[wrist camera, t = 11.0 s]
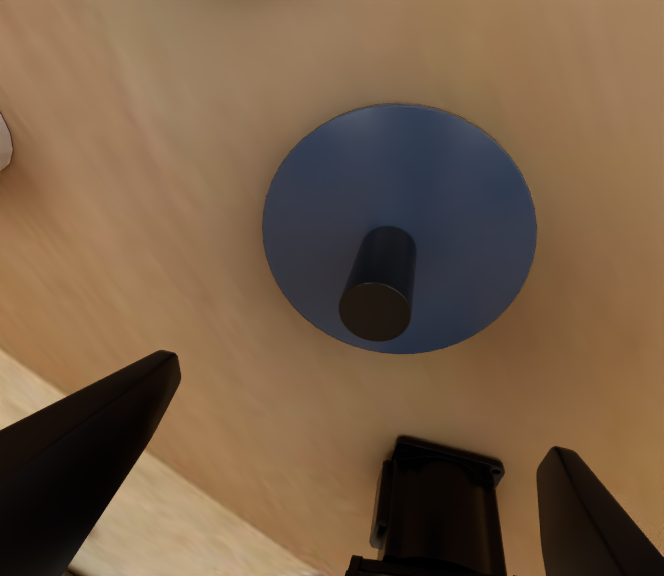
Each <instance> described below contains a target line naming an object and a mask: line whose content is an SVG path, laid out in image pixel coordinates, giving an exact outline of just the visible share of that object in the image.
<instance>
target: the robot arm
mask: <svg viewBox="0 0 664 576" xmlns="http://www.w3.org/2000/svg"><path fill="white" fill-rule="evenodd" d="M180 381H181V372H180V366H179V360H178V356H177V354H176V353H174V352H170V351H166V350H159V351H156V352H154V353H152V354H150V355H148V356H146V357H144V358H142V359H140V360H138V361H136V362H135V363H133V364H131V365H129V366H127V367H125V368H123V369H121V370H119V371H117V372H115V373H113V374H111V375H109V376H107V377H105V378H103V379H101V380H99V381H97V382H95V383H93V384H91V385H89V386H87V387H85V388H83V389H81V390H79V391H77V392H75V393H73V394H71V395H69V396H67V397H65V398H63V399H61V400H59V401H57V402H55V403H53V404H51V405H49V406H47V407H45V408H43V409H42V410H40V411H38V412H36V413H34V414H32V415H30V416H28V417H26V418H24V419H22V420H20V421H18V422H16V423H14V424H12V425H10V426H8V427H6V428H4V429H2V430H0V576H62V574H63V573H64V571H65V570H66V568H67V567H68V565H69V564H70V562H71V561H72V559H73V558H74V556H75V555H76V553H77V552H78V550H79V548H80V547H81V545H82V544H83V542H84V541H85V539H86V538H87V536H88V535H89V533H90V532H91V530H92V529H93V527H94V526H95V524H96V522H97V521H98V519H99V518H100V516H101V515H102V513H103V512H104V510H105V509H106V507H107V506H108V504H109V503H110V501H111V500H112V498H113V497H114V495H115V493H116V492H117V490H118V489H119V487H120V486H121V484H122V483H123V481H124V480H125V478H126V477H127V475H128V474H129V472H130V471H131V469H132V468H133V466H134V464H135V463H136V461H137V460H138V458H139V457H140V455H141V454H142V452H143V451H144V449H145V448H146V446H147V444H148V443H149V441H150V440H151V438H152V436H153V434H154V432H155V431H156V429H157V427H158V425H159V423H160V421H161V419H162V417H163V415H164V413H165V411H166V409H167V407H168V406H169V404H170V402H171V400H172V398H173V396H174V394H175V392H176V390H177V388H178V386H179V384H180ZM504 473H505V471H504V465H503V464H502V463H501V462H499V461H496V460H492V459H488V458H485V457H481V456H477V455H473V454H469V453H465V452H461V451H457V450H453V449H449V448H445V447H442V446H438V445H434V444H430V443H426V442H422V441H418V440H414V439H410V438H406V437H399V438H397V440H396V442H395V446H394V449H393V452H392V455H391V459H390V460H388V459H387V460H385V461H384V462H383V464H382V468H381V471H380V475H379V478H378V482H377V489H376V496H375V504H374V511H373V519H372V526H371V534H370V541H369V542H370V544H371V546H372V547H373V548H377V549H379V550H378V559H377V560H372V559H364V558H363V557H362V556H356V555H352V558H351V561H350V565H349V568H348V570H347V571H346V573H345V576H507V571H506V564H505V556H504V549H503V542H502V534H501V527H500V520H499V513H498V505H497V498H496V491H495V488H496V487H497V485H498V483H499V482H500V480H501V478H502V477H503V475H504ZM537 491H538V505H539V520H540V534H541V545H542V553H543V560H544V565H545V571H546V576H664V557H663V556H662V555H661V554H660V552H659V551H658V550H657V549H656V548H655V546H654V545H653V544H652V543H651V542H650V540H649V539H648V538H647V537H646V536H645V534H644V533H643V532H642V531H641V530H640V528H639V527H638V526H637V525H636V524H635V522H634V521H633V520H632V519H631V518H630V516H629V515H628V514H627V513H626V512H625V510H624V509H623V508H622V507H621V506H620V504H619V503H618V502H617V501H616V500H615V498H614V497H613V496H612V495H611V494H610V492H609V491H608V490H607V489H606V488H605V486H604V485H603V484H602V483H601V482H600V480H599V479H598V478H597V477H596V476H595V474H594V473H593V472H592V471H591V470H590V468H589V467H588V466H587V465H586V464H585V462H584V461H583V460H582V459H581V458H580V456H579V455H578V454H577V453H576V452H575V451H573V450H570V449H566V448H562V447H558V446H554V447H552V448H551V449H550V450H549V452H548V453H547V454H546V456H545V457H544V459H543V460H542V462H541V463H540V465H539V466H538V469H537ZM513 576H515V575H513Z"/></svg>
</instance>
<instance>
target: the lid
mask: <svg viewBox="0 0 664 576" xmlns="http://www.w3.org/2000/svg"><path fill="white" fill-rule="evenodd" d="M262 230H263V243H264V248H265V253H266V258H267V260H268V263H269V266H270V269H271V272H272V274H273V276H274V278H275V280H276V282H277V284H278V286H279V287H280V289H281V291H282V292H283V294H284V295H285V297H286V298H287V299H288V300H289V302H290V303H291V304H292V305H293V307H294V308H295V309H296V310H297V311H298V312H299V313H300V314H301V315H302V316H303V317H304V318H305V319H307V320H308V321H309V322H310V323H312V324H313V325H314V326H315V327H317V328H318V329H320V330H322V331H323V332H325V333H326V334H328V335H330V336H332V337H334V338H336V339H338V340H340V341H342V342H344V343H347V344H349V345H352V346H355V347H358V348H362V349H365V350H369V351H375V352H381V353H391V354H415V353H423V352H430V351H434V350H438V349H443V348H446V347H448V346H451V345H454V344H457V343H459V342H461V341H464V340H466V339H468V338H470V337H472V336H473V335H475V334H477V333H478V332H480V331H481V330H483V329H485V328H486V327H487V326H488V325H490V324H491V323H492V322H493V321H495V320H496V319H497V318H498V317H499V316H500V315H501V314H502V313H503V312H504V311H505V310H506V309H507V308H508V307H509V306H510V304H511V303H512V301H513V300H514V299H515V297H516V296H517V295H518V293H519V292H520V290H521V288H522V286H523V284H524V282H525V280H526V278H527V276H528V273H529V271H530V268H531V265H532V262H533V258H534V253H535V247H536V234H537V224H536V216H535V208H534V205H533V201H532V198H531V194H530V191H529V188H528V186H527V184H526V182H525V180H524V178H523V176H522V174H521V172H520V170H519V169H518V167H517V166H516V165H515V163H514V162H513V160H512V159H511V157H510V156H509V154H508V153H507V152H506V151H505V150H504V149H503V148H502V147H501V146H500V145H499V144H498V143H497V142H496V140H495V139H494V138H492V137H491V136H490V135H488V134H487V133H486V132H484V131H483V130H482V129H481V128H479V127H478V126H476V125H475V124H473V123H471V122H469V121H467V120H466V119H464V118H462V117H460V116H458V115H455V114H453V113H450V112H447V111H444V110H442V109H439V108H434V107H430V106H425V105H420V104H409V103H387V104H375V105H371V106H367V107H362V108H358V109H354V110H352V111H349V112H347V113H344V114H341V115H339V116H337V117H335V118H333V119H331V120H329V121H328V122H326V123H324V124H322V125H320V126H319V127H318V128H316V129H315V130H314V131H312V132H311V133H310V134H308V135H307V136H306V137H304V138H303V139H302V140H301V141H300V142H299V143H298V144H297V145H296V146H295V147H294V148H293V149H292V150H291V151H290V153H289V154H288V155H287V157H286V158H285V159H284V161H283V162H282V164H281V165H280V167H279V168H278V170H277V172H276V174H275V176H274V178H273V180H272V182H271V185H270V188H269V191H268V193H267V196H266V201H265V206H264V211H263V225H262Z"/></svg>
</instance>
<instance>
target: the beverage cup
mask: <svg viewBox="0 0 664 576" xmlns="http://www.w3.org/2000/svg"><path fill="white" fill-rule="evenodd" d="M12 152H13V148H12V142H11V137H10V132H9V130H8V128H7V126H6V124H5V122H4V120H3V118H2V116H1V114H0V171H1V170H2V169H4V168H5V167H6V166H7V165H9V164H10V160H11V156H12Z"/></svg>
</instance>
